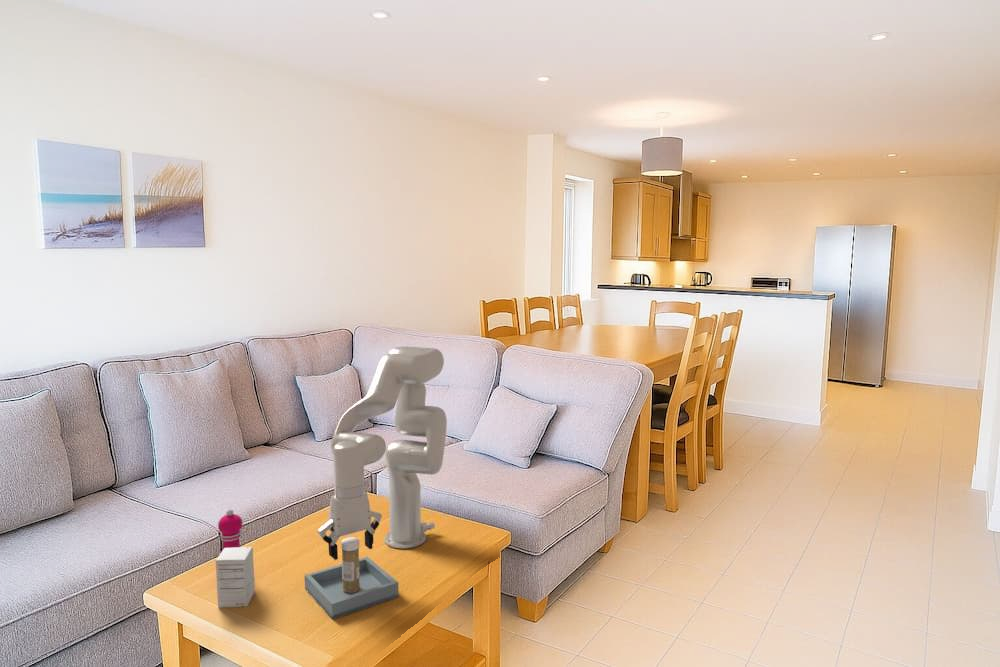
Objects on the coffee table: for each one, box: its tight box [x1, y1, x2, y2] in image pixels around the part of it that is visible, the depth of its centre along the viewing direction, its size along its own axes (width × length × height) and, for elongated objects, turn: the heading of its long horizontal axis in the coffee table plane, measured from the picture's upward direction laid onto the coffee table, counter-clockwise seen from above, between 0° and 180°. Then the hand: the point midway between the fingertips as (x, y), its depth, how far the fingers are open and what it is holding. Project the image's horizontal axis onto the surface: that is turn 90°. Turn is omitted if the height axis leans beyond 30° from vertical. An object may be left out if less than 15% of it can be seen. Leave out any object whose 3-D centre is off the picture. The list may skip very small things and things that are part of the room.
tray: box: [304, 556, 399, 620], centre depth 174 cm, size 18×18×4 cm
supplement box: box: [215, 546, 256, 608], centre depth 169 cm, size 7×7×13 cm
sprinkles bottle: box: [340, 536, 360, 593], centre depth 173 cm, size 5×5×13 cm
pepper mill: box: [217, 508, 243, 552], centre depth 179 cm, size 7×7×20 cm
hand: (351, 552), depth 173 cm, fingers open, 9 cm apart
